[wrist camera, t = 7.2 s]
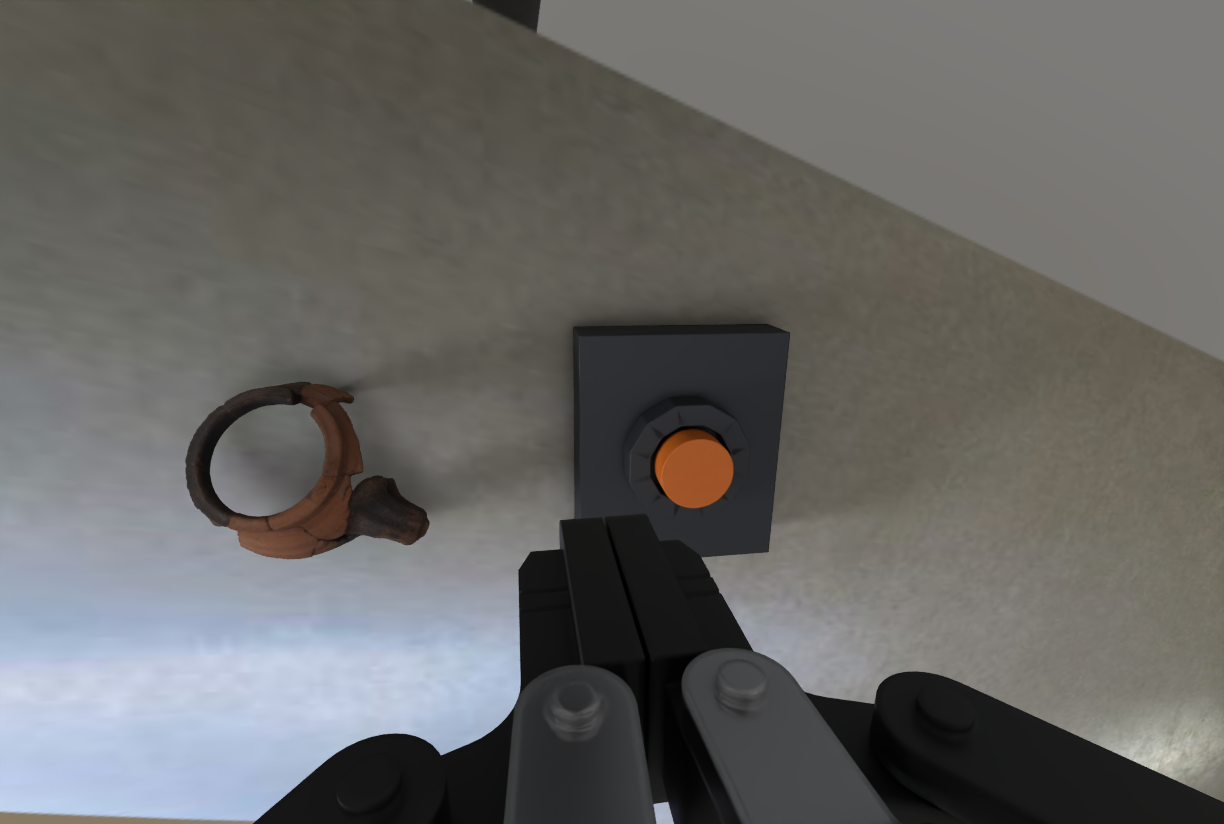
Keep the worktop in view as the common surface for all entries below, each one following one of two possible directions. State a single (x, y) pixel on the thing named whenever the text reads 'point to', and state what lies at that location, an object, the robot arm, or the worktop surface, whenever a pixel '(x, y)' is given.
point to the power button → (693, 468)
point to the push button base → (679, 425)
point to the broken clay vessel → (329, 505)
